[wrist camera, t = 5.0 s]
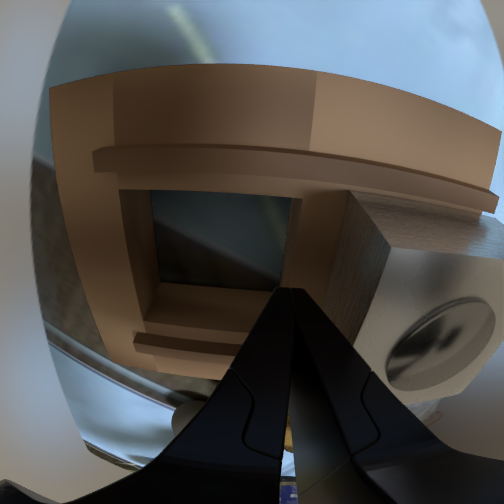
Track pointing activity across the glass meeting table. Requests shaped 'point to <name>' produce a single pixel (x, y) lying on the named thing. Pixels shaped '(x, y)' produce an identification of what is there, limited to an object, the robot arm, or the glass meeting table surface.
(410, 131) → the housing plate
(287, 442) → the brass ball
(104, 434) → the glass meeting table surface
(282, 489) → the pill bottle
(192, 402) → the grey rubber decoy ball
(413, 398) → the grey sliding block
